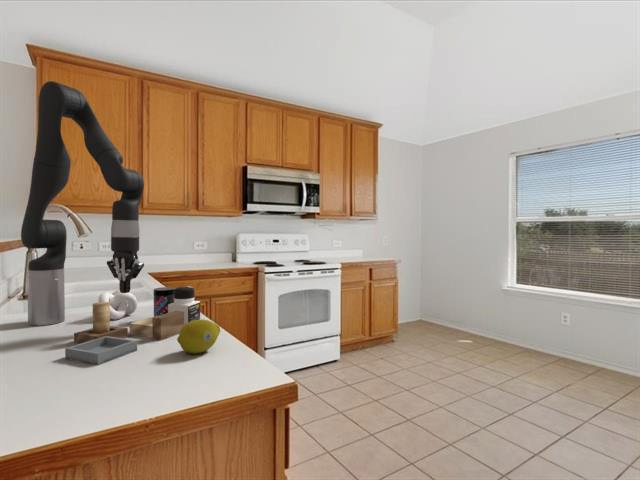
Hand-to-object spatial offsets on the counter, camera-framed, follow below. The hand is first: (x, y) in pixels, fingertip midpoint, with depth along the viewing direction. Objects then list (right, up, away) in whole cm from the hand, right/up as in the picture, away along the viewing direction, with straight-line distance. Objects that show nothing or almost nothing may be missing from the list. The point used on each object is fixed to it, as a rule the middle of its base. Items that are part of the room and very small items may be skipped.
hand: (124, 292), depth 110 cm
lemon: (+29, -12, -20) cm, 37 cm away
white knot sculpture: (-10, -11, +16) cm, 22 cm away
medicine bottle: (+16, -11, +6) cm, 20 cm away
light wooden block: (+10, -12, -3) cm, 16 cm away
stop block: (+16, -11, -6) cm, 20 cm away
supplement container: (+7, -11, +12) cm, 18 cm away
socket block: (-1, -11, -10) cm, 15 cm away
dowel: (-1, -11, -10) cm, 15 cm away
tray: (+6, -12, -22) cm, 26 cm away
